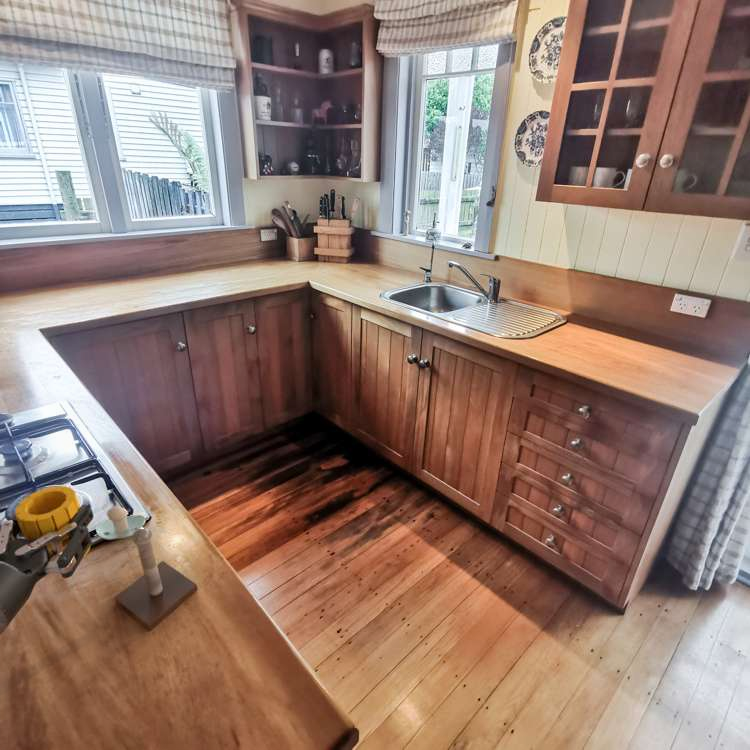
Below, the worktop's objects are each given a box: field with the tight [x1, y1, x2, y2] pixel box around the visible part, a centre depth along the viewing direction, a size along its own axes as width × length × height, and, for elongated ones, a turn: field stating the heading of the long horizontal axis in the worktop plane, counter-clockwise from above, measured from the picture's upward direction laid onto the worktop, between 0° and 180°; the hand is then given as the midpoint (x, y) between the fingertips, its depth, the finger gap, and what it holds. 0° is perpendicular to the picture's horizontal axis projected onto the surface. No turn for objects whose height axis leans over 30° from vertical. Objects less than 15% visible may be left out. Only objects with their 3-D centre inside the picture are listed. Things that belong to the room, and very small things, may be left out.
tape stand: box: [114, 526, 199, 632], centre depth 65 cm, size 8×8×13 cm
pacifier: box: [95, 506, 146, 541], centre depth 78 cm, size 7×6×6 cm
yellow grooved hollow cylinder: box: [14, 485, 92, 559], centre depth 63 cm, size 7×7×9 cm
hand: (62, 507), depth 64 cm, fingers closed on yellow grooved hollow cylinder, 6 cm apart
